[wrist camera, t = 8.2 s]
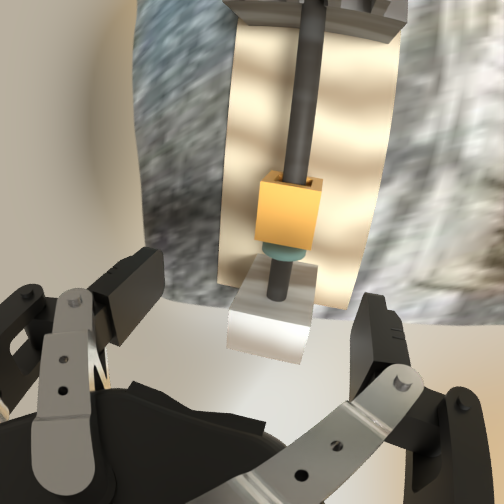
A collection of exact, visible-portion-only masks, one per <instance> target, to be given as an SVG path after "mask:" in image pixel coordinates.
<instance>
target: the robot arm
mask: <svg viewBox="0 0 504 504" xmlns="http://www.w3.org/2000/svg"><path fill="white" fill-rule="evenodd" d="M164 287H165V278H164V261H163V253H162V251H161V250H158V249H153V248H148V247H143V248H141V249H140V250H139V251H138V252H136V253H135V254H134V255H133V256H129V257H127V258H124V259H122V260H120V261H119V262H118V263H116V264H115V265H114V266H113V268H110V269H109V270H108V271H107V273H105V274H103V276H101V277H100V278H99V279H98V280H96V281H95V282H94V283H93V284H92V285H91V286H89V288H87V289H83V288H74V289H70V290H68V291H65V292H64V293H62V294H61V295H60V296H59V298H50V297H45V295H44V292H43V289H42V287H41V286H40V285H38V284H28V285H25V286H22V287H20V288H19V289H17V290H16V291H15V292H14V293H13V294H11V295H10V296H9V297H8V298H7V299H6V300H5V301H3V302H2V303H1V304H0V504H325V503H324V500H325V499H327V498H328V497H329V496H330V495H331V494H333V493H334V492H335V491H336V490H337V489H338V488H339V487H340V486H341V485H342V484H343V483H344V482H345V481H346V480H347V479H348V478H350V476H352V474H354V473H355V472H356V471H357V470H358V468H360V466H362V464H363V463H364V462H365V461H366V460H367V459H368V458H369V457H370V456H371V455H372V454H373V453H374V452H375V451H376V450H377V449H378V447H379V446H380V445H381V444H382V443H383V442H384V441H385V442H387V443H390V444H393V445H395V446H398V447H401V448H404V449H406V467H405V487H404V488H405V489H404V501H403V504H494V489H493V477H492V467H491V459H490V452H489V445H488V440H487V433H486V428H485V423H484V418H483V413H482V408H481V404H480V401H479V399H478V397H477V396H476V395H475V394H474V393H473V392H472V391H471V390H469V389H467V388H464V387H453V388H452V389H450V390H449V391H448V392H447V394H446V395H444V394H441V393H439V392H436V391H433V390H430V389H428V388H426V387H425V386H424V382H423V379H422V377H421V375H420V374H419V373H418V372H417V371H416V370H415V369H413V368H412V367H411V364H410V359H409V354H408V349H407V344H406V340H405V334H404V332H403V326H402V321H401V319H400V318H399V317H398V315H397V314H396V313H395V311H392V310H387V306H386V301H385V297H384V296H383V295H378V294H372V293H367V292H365V293H364V295H363V297H362V300H361V303H360V306H359V309H358V312H357V315H356V317H355V320H354V323H353V326H352V330H351V335H350V393H349V401H345V402H343V403H342V404H341V405H340V406H338V407H337V408H336V409H335V410H334V411H333V412H331V413H330V414H329V415H328V416H326V417H325V418H324V419H323V420H322V421H320V422H319V423H318V424H317V425H315V426H314V427H313V428H311V429H310V430H309V431H308V432H307V433H305V434H304V435H302V436H301V437H300V438H298V439H297V440H296V441H295V442H293V443H292V444H290V445H289V446H286V445H285V444H284V443H282V442H281V441H280V440H278V439H277V438H275V437H274V436H272V435H270V434H268V433H266V432H264V428H265V424H266V422H264V421H259V420H255V419H251V418H247V417H243V416H239V415H235V414H231V413H217V412H203V411H195V410H191V409H189V408H187V407H185V406H184V405H182V404H180V403H179V402H177V401H176V400H174V399H173V398H171V397H169V396H168V395H166V394H165V393H163V392H161V391H158V390H156V389H153V388H150V387H148V386H145V385H143V384H140V383H137V382H135V381H133V382H132V383H131V385H130V386H129V388H128V389H122V388H113V389H112V388H111V385H110V377H109V368H108V358H107V350H106V345H107V344H108V343H112V344H114V345H117V346H119V347H120V346H121V345H122V343H123V342H124V341H125V340H126V339H127V337H128V336H129V335H130V334H131V332H132V331H133V330H134V329H135V327H136V326H137V325H138V324H139V323H140V321H141V320H142V319H143V318H144V317H145V315H146V314H147V313H148V312H149V311H150V309H151V308H152V307H153V306H154V304H155V303H156V302H157V301H158V300H159V299H160V297H161V296H162V294H163V291H164ZM23 328H24V329H25V332H26V334H27V336H28V340H27V341H26V342H25V343H24V344H23V345H22V346H21V347H20V348H19V349H18V351H16V353H15V354H14V355H13V356H12V355H11V353H10V343H11V341H12V340H13V339H14V338H15V337H16V336H17V335H18V333H19V332H21V331H22V330H23ZM38 377H39V386H38V404H37V412H35V413H32V414H28V415H25V416H22V417H18V418H15V419H12V420H9V415H10V413H11V412H12V411H13V409H14V408H15V407H16V405H17V404H18V403H19V401H20V400H21V399H22V398H23V396H24V395H25V394H26V392H27V391H28V389H29V388H30V387H31V386H32V384H33V383H34V382H35V381H36V380H37V378H38Z"/></svg>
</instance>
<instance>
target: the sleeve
mask: <svg viewBox="0 0 504 504" xmlns="http://www.w3.org/2000/svg"><path fill="white" fill-rule="evenodd" d="M282 178H283V172H280V171H273V170H271V171H270V172H269V173H268V174H267V175H266V176H265V177H264V178H263V179H262V180H261V181H260V190H259V200H258V209H257V218H256V228H255V237H254V240H258V241H263V242H268V243H273V244H279V245H284V246H289V247H294V248H299V249H304V250H310V251H311V248H312V243H313V237H314V232H315V227H316V222H317V216H318V210H319V205H320V199H321V193H322V185H323V179H321V178H315V177H309V176H307V180H306V186H303V185H297V184H291V183H285V182H282Z"/></svg>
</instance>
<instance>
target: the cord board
mask: <svg viewBox="0 0 504 504" xmlns="http://www.w3.org/2000/svg"><path fill="white" fill-rule="evenodd" d="M222 2H223V3H224V4H226V5H227V6H228V7H229V8H230V9H231V10H232V11H233V12H234V13H236V14H237V15H238V24H237V33H236V42H235V51H234V60H233V70H232V80H231V91H230V101H229V112H228V124H227V136H226V149H225V162H224V175H223V190H222V205H221V222H220V239H219V258H218V280H217V283H218V284H223V285H227V286H232V287H236V288H240V289H239V291H238V293H237V295H236V297H235V298H234V300H233V302H232V304H231V306H230V308H229V314H228V329H227V346H226V347H227V348H229V349H232V350H236V351H240V352H244V353H249V354H253V355H257V356H261V357H266V358H270V359H275V360H279V361H284V362H289V363H294V364H300V362H301V359H302V355H303V352H304V349H305V345H306V341H307V338H308V335H309V331H310V327H311V320H312V313H313V305H314V304H318V305H323V306H328V307H334V308H339V309H344V310H347V307H348V304H349V301H350V298H351V294H352V291H353V288H354V284H355V281H356V278H357V274H358V271H359V267H360V264H361V260H362V257H363V253H364V249H365V245H366V242H367V238H368V234H369V230H370V226H371V222H372V218H373V214H374V209H375V205H376V200H377V196H378V191H379V187H380V182H381V177H382V172H383V167H384V162H385V156H386V151H387V145H388V139H389V133H390V127H391V120H392V114H393V106H394V99H395V91H396V82H397V73H398V62H399V50H400V35H401V29H402V28H403V27H404V26H405V25H406V23H407V14H408V0H222ZM271 170H273V171H280V172H283V178H282V182H285V183H291V184H297V185H303V186H306V180H307V176H309V177H315V178H321V179H323V185H322V193H321V199H320V205H319V210H318V216H317V222H316V227H315V232H314V237H313V243H312V248H311V251H310V250H304V249H299V248H294V247H289V246H284V245H279V244H273V243H268V242H263V241H258V240H254V237H255V228H256V218H257V209H258V200H259V190H260V181H261V180H262V179H263V178H264V177H265V176H266V175H267V174H268V173H269V172H270V171H271Z"/></svg>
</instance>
